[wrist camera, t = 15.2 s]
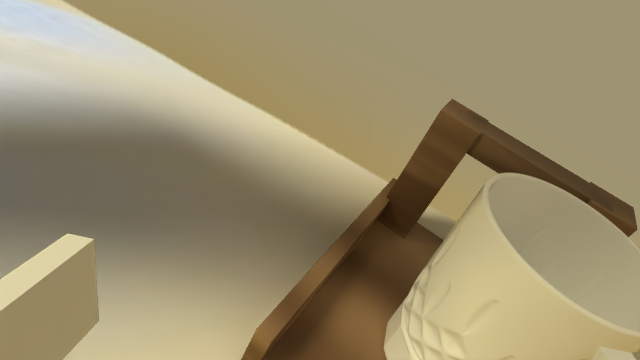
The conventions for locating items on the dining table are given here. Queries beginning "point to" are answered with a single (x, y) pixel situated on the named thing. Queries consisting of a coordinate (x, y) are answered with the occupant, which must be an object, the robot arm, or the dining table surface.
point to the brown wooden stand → (401, 245)
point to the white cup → (522, 282)
